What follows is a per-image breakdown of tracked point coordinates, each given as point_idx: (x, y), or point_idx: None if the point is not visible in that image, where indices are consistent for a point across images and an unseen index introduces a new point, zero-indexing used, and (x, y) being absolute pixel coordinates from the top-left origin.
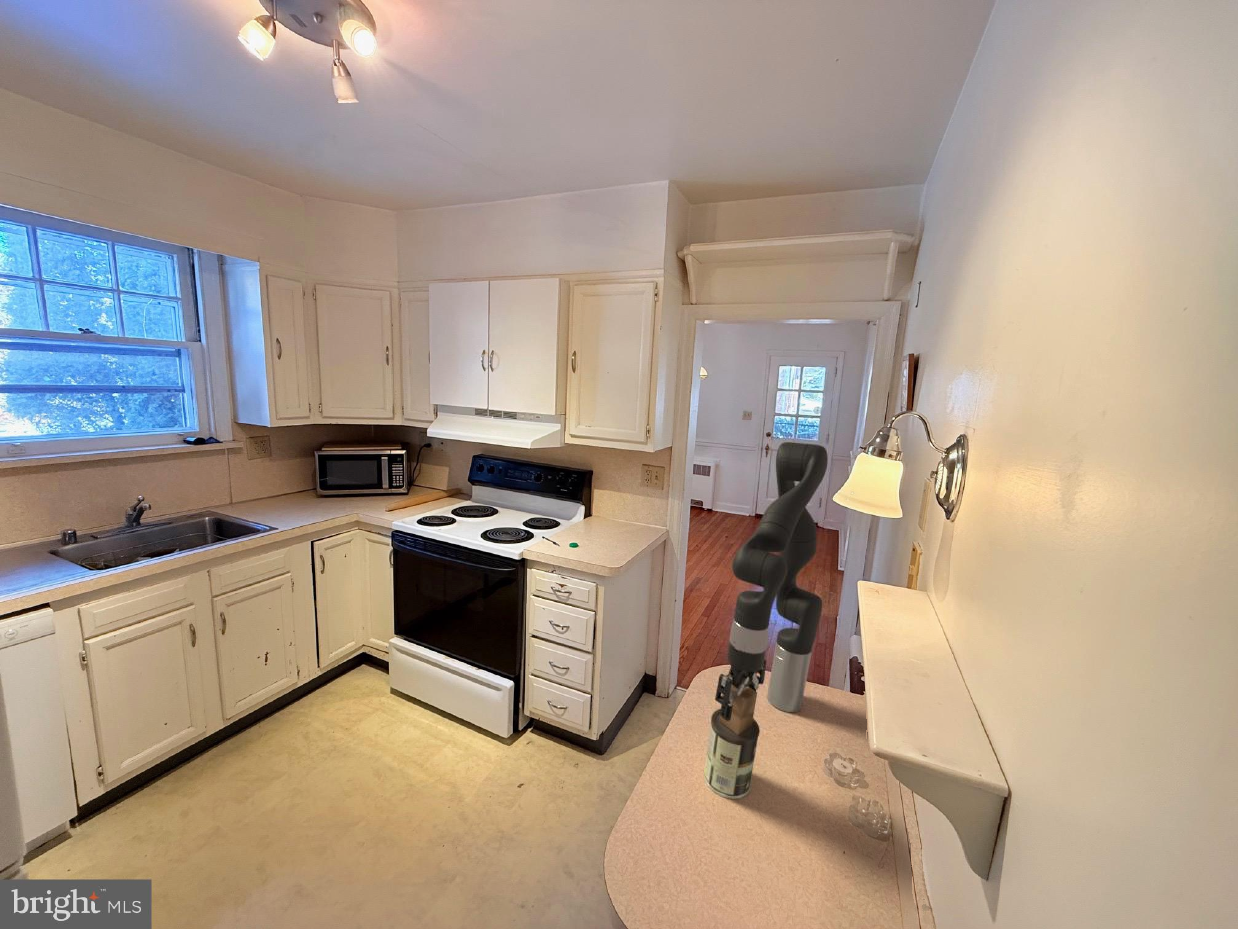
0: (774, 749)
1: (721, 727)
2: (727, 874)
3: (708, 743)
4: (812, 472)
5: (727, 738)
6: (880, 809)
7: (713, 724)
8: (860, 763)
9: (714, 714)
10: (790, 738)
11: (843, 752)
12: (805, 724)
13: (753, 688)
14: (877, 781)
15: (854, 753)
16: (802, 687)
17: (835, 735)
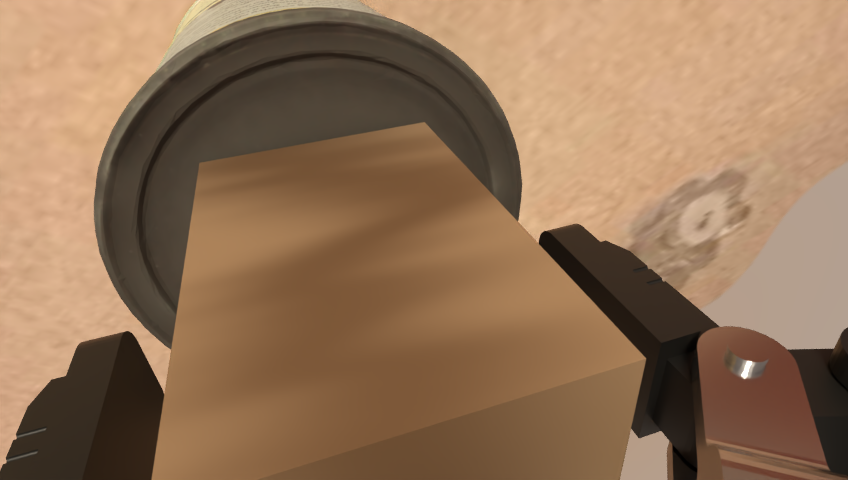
0: (609, 61)
1: (175, 226)
2: (18, 382)
3: (168, 50)
4: None
5: (150, 328)
6: None
7: (105, 176)
8: (745, 233)
9: (221, 57)
10: (712, 50)
11: (760, 184)
12: (826, 23)
13: (669, 435)
14: (706, 289)
15: (776, 200)
16: None
17: (826, 121)
